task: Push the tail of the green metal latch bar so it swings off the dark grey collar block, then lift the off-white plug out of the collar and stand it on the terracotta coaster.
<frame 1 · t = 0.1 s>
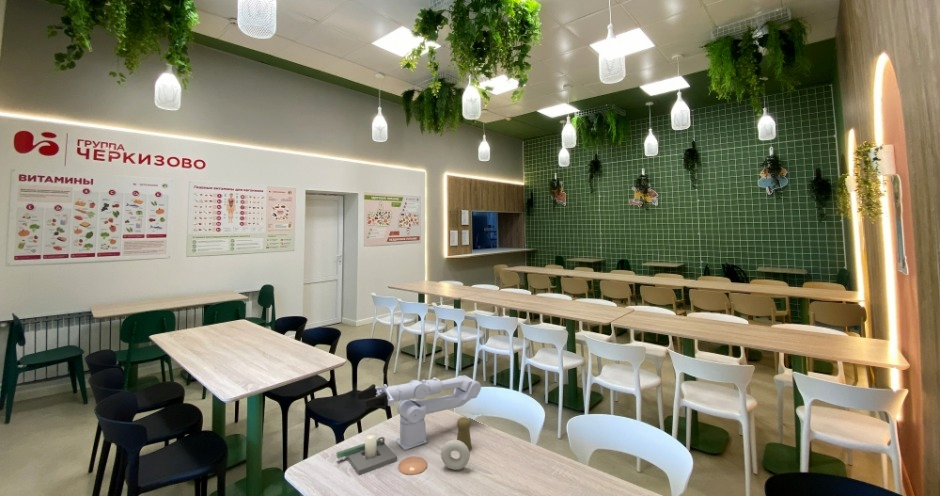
hand: (361, 399, 136), 22 cm above the table, tool horizontal, fingers open, 7 cm apart
brown pawn: (463, 448, 145), on the table
latch bar: (361, 447, 141), point 2 cm above the table, hinge at 0.0°
donut: (455, 469, 132), on the table
plug: (370, 447, 138), in the collar block
coaster: (412, 465, 134), on the table
collar block: (370, 458, 138), on the table
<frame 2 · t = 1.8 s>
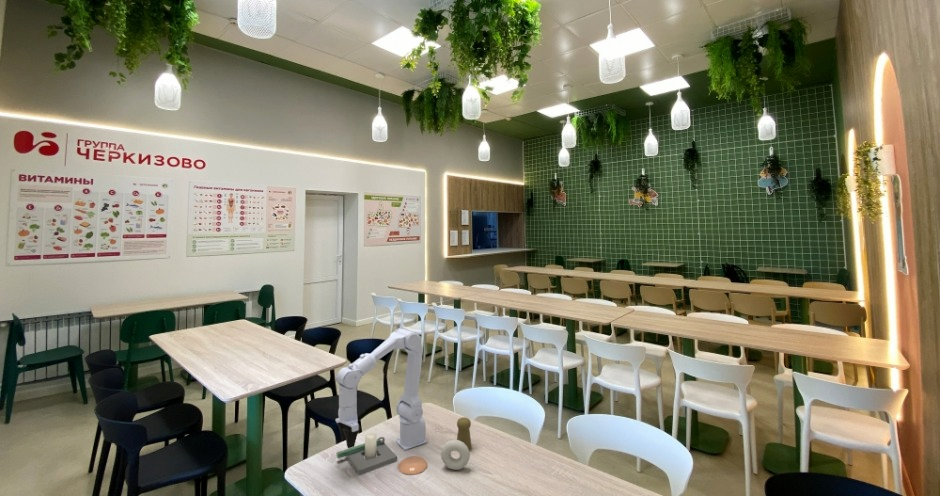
hand: (348, 443, 130), 9 cm above the table, tool pointing down, fingers open, 5 cm apart
nothing on the table moved.
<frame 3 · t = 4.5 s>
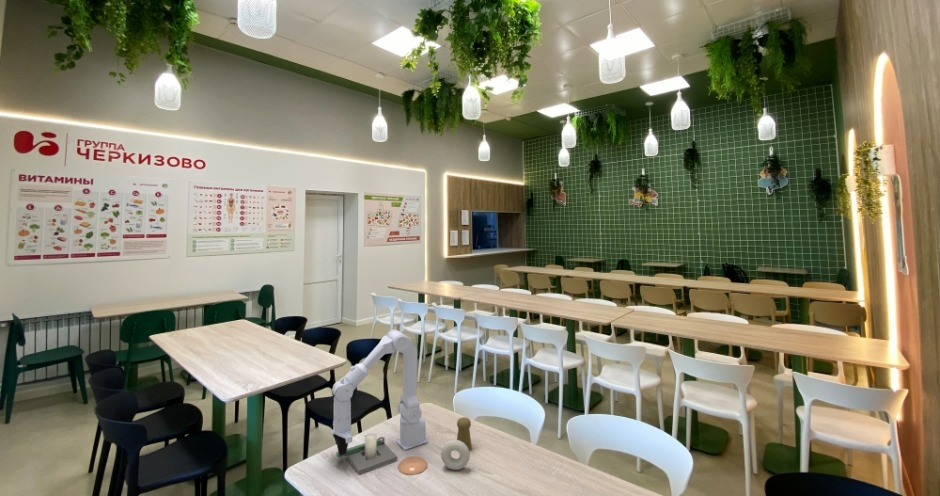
hand: (342, 454, 135), 3 cm above the table, tool pointing down, fingers closed
latch bar: (361, 447, 141), point 2 cm above the table, hinge at -0.6°, touching gripper
everything else where it was.
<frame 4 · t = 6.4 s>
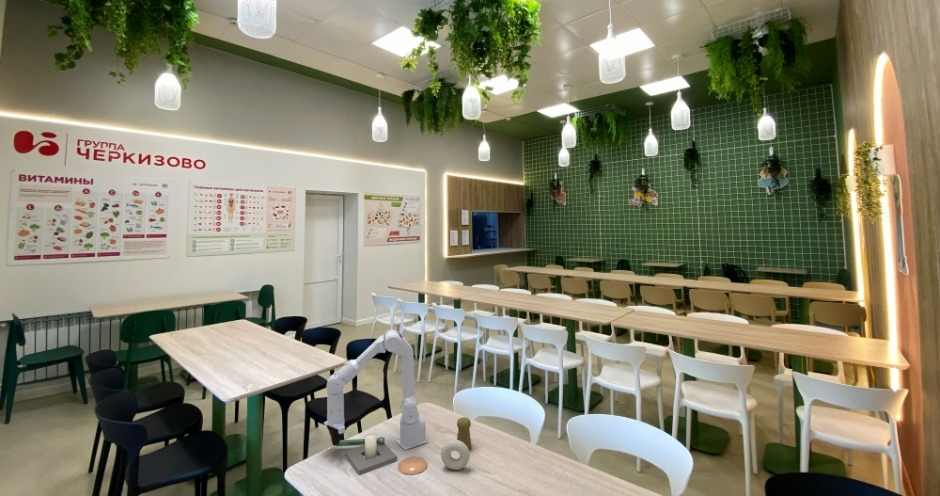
hand: (335, 444, 141), 3 cm above the table, tool pointing down, fingers closed
latch bar: (360, 442, 144), point 2 cm above the table, hinge at -29.5°, touching gripper
everything else where it was.
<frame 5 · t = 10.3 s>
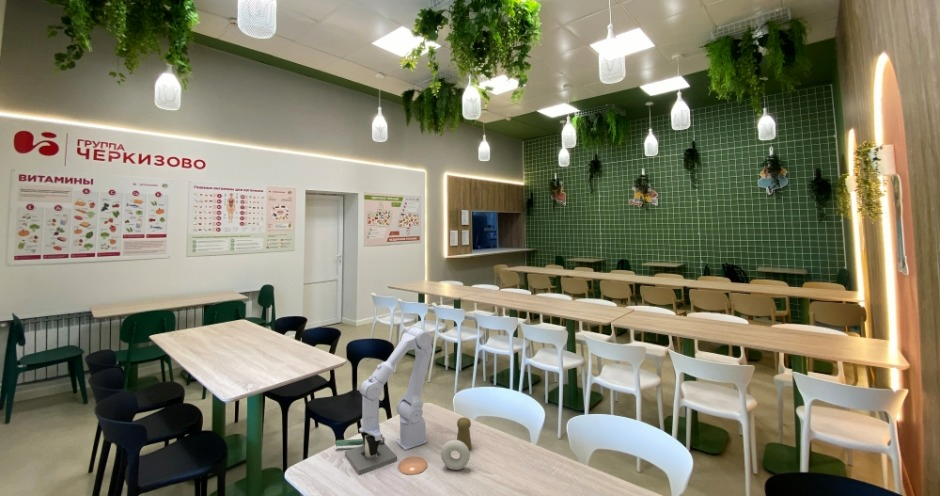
hand: (370, 451, 138), 2 cm above the table, tool pointing down, fingers closed on plug, 4 cm apart
latch bar: (360, 442, 144), point 2 cm above the table, hinge at -29.7°
plug: (370, 447, 138), in the collar block, touching gripper
everything else where it was.
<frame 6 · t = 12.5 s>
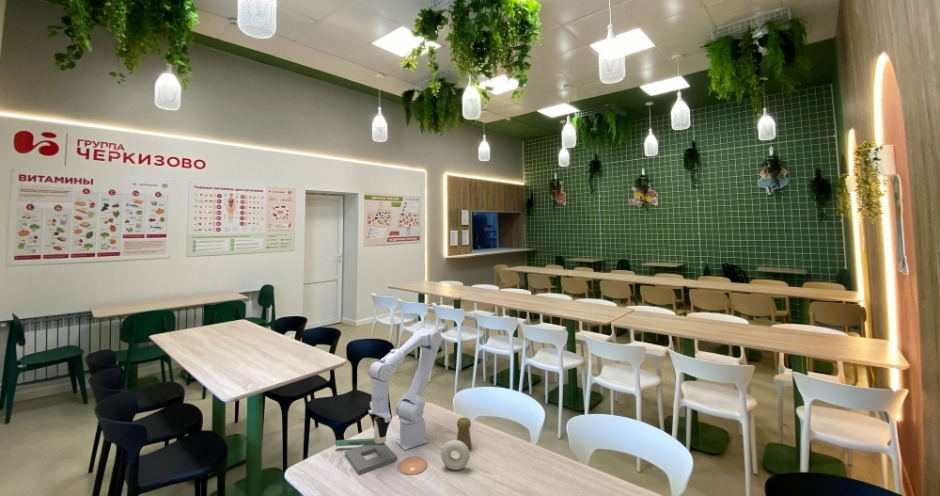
hand: (380, 433, 137), 9 cm above the table, tool pointing down, fingers closed on plug, 4 cm apart
plug: (380, 429, 137), point 11 cm above the table, touching gripper
everything else where it was.
when the fingers open (4 cm above the table, at t = 14.9 s): plug stays where it is, resting on coaster.
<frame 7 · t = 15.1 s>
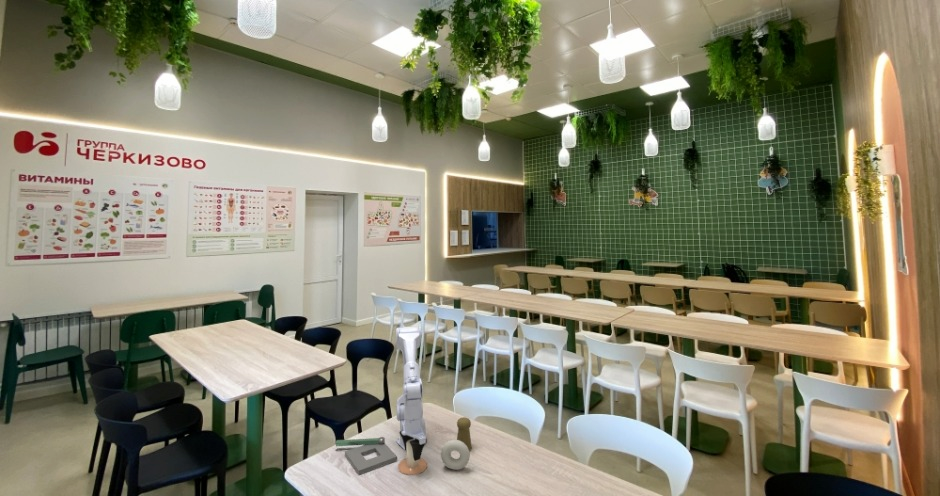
hand: (412, 455, 133), 4 cm above the table, tool pointing down, fingers open, 6 cm apart
plug: (412, 453, 133), on the coaster
everything else where it was.
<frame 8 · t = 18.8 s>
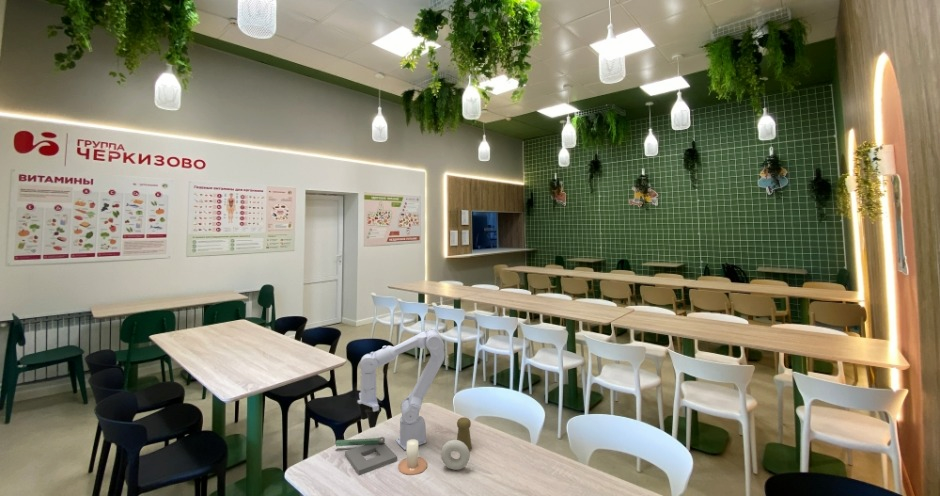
hand: (368, 422, 145), 9 cm above the table, tool pointing down, fingers open, 7 cm apart
nothing on the table moved.
at the end: latch bar at -30° (first picture: +0°); plug 0.1 cm off-centre on the coaster, point 4.4 cm above the coaster's base; plug tilted 0° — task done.
